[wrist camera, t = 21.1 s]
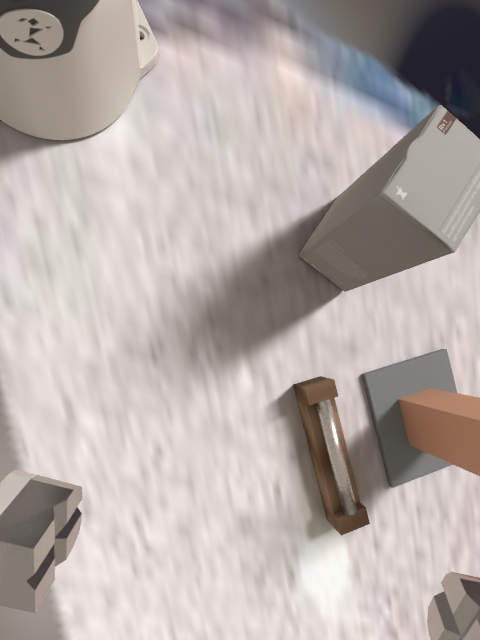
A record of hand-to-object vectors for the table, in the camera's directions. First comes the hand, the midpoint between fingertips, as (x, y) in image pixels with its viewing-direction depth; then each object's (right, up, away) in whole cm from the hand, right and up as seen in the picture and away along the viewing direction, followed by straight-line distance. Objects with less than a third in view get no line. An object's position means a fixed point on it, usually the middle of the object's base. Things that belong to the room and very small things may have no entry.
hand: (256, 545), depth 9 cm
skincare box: (+10, +13, +32) cm, 36 cm away
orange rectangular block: (+19, -5, +32) cm, 37 cm away
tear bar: (+8, -8, +30) cm, 32 cm away
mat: (+18, -5, +33) cm, 38 cm away
